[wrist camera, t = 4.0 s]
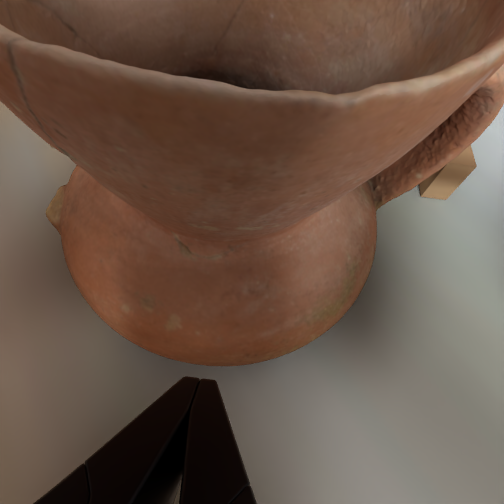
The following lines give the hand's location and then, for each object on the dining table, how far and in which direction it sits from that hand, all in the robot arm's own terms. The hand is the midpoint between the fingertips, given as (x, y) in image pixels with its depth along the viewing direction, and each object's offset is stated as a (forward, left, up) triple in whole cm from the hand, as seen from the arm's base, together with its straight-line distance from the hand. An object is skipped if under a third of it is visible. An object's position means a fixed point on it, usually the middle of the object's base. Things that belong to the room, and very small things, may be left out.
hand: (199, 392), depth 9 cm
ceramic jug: (+9, 0, -7) cm, 11 cm away
